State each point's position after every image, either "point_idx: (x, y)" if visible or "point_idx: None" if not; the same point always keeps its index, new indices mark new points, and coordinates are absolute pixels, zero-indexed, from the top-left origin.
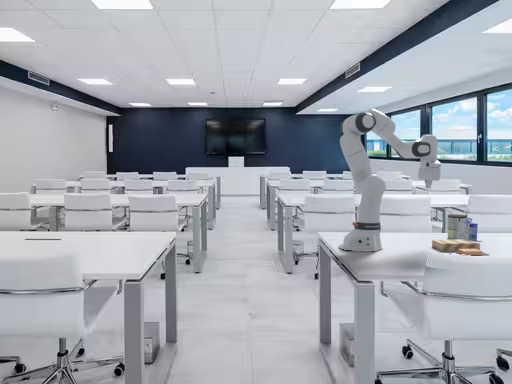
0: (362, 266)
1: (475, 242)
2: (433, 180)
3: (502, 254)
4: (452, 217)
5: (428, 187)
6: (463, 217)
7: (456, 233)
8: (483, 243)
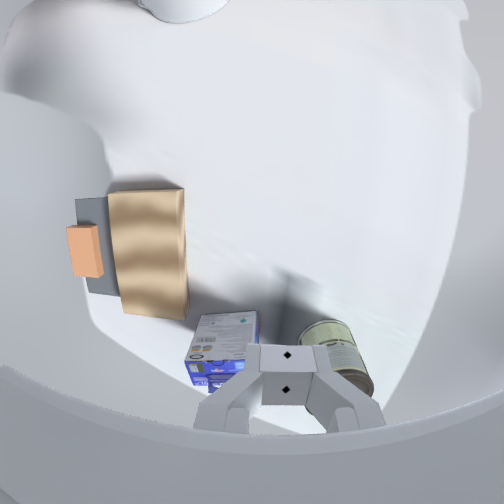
0: (43, 3)
1: (133, 308)
2: (5, 368)
3: (102, 324)
4: None
5: (247, 354)
6: None
7: (305, 344)
8: None
